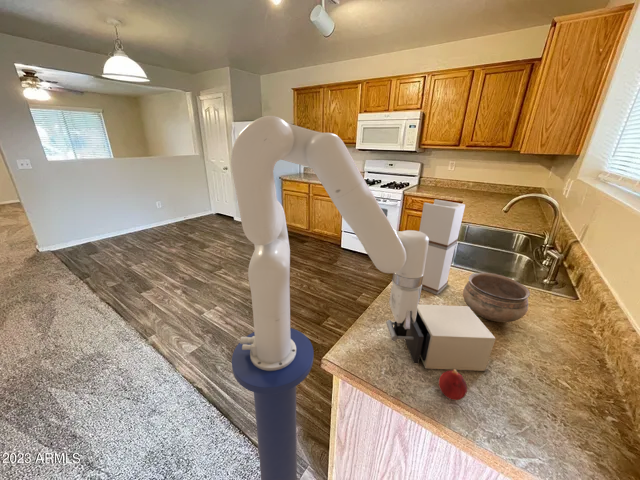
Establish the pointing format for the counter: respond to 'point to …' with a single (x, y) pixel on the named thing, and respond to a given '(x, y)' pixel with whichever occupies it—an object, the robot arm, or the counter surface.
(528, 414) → the counter surface
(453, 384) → the onion
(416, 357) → the dark pull-out drawer
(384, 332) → the counter surface
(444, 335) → the cream rectangular box
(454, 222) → the tall white column
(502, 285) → the cooking pot
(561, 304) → the counter surface
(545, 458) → the counter surface
